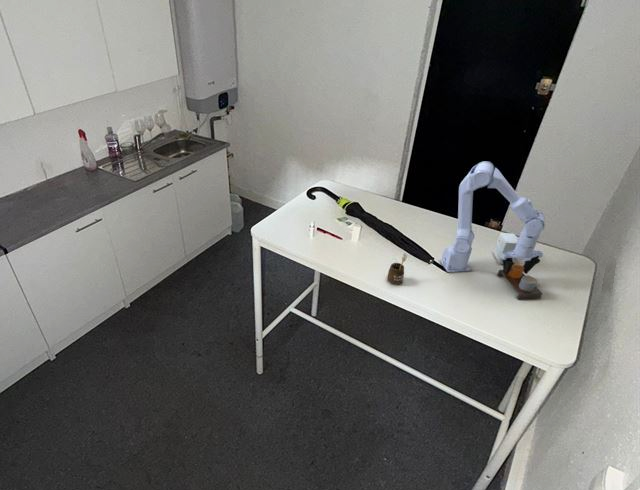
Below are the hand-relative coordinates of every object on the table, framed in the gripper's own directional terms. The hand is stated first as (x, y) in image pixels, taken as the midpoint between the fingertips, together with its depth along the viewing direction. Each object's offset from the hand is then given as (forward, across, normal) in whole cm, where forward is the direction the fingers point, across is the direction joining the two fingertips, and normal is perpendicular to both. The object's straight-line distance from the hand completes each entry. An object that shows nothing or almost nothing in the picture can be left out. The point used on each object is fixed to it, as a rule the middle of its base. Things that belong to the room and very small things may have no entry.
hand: (514, 272), depth 157 cm
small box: (+4, +4, +14) cm, 15 cm away
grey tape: (+1, 0, -8) cm, 8 cm away
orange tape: (+1, 0, 0) cm, 1 cm away
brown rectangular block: (+3, 0, -4) cm, 5 cm away
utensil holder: (+4, -45, +4) cm, 45 cm away
